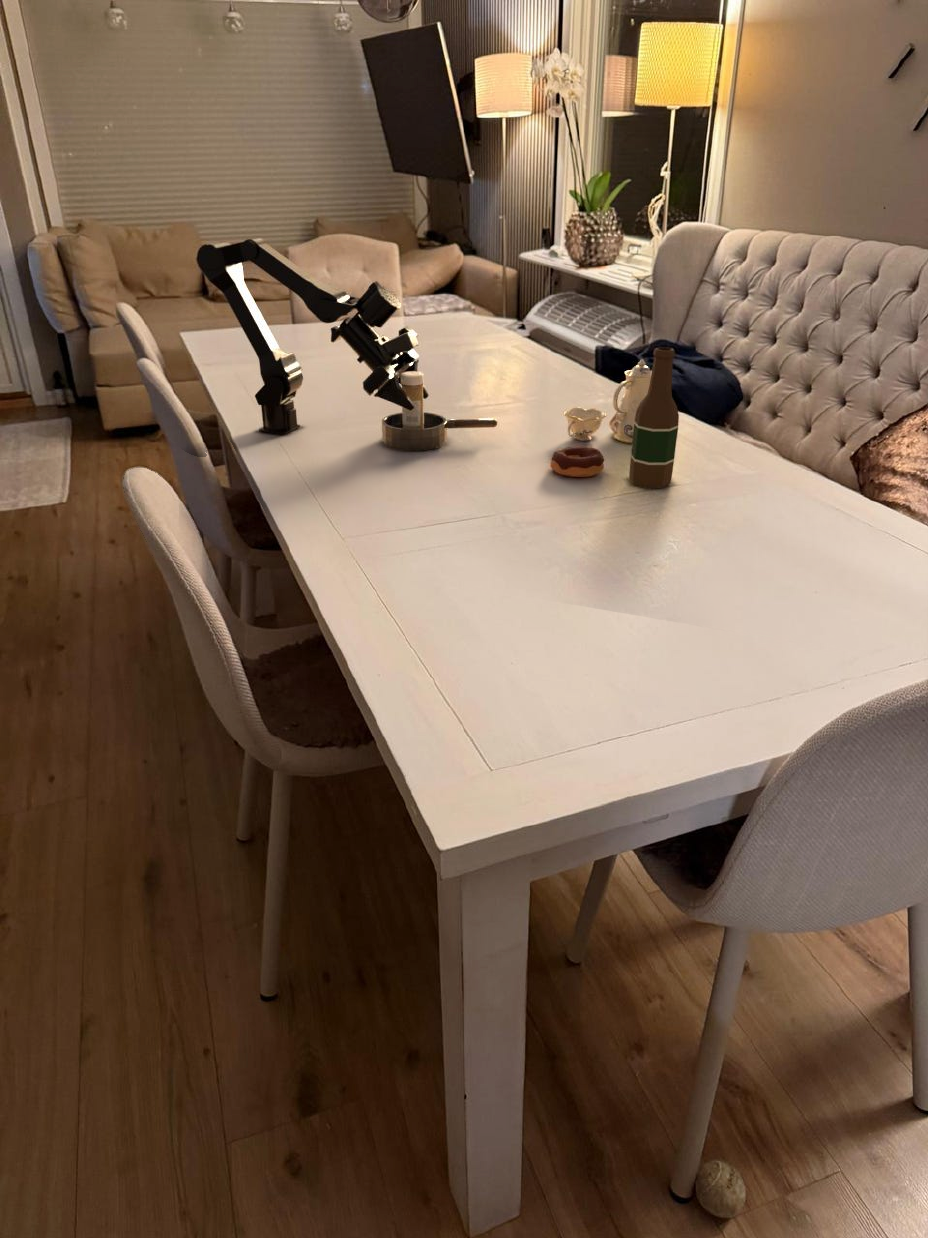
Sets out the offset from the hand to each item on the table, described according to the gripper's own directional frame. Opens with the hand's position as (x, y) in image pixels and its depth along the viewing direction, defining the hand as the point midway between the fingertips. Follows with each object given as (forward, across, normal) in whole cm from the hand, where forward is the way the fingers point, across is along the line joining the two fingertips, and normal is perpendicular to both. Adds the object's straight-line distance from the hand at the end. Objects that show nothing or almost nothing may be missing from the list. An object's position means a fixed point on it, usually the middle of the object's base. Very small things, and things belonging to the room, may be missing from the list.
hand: (420, 402), depth 181 cm
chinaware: (+34, +18, -22) cm, 44 cm away
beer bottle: (+40, -10, -28) cm, 50 cm away
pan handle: (+11, +4, -3) cm, 12 cm away
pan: (+5, 0, +7) cm, 8 cm away
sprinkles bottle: (+4, 0, +7) cm, 8 cm away
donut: (+30, -8, -18) cm, 36 cm away
